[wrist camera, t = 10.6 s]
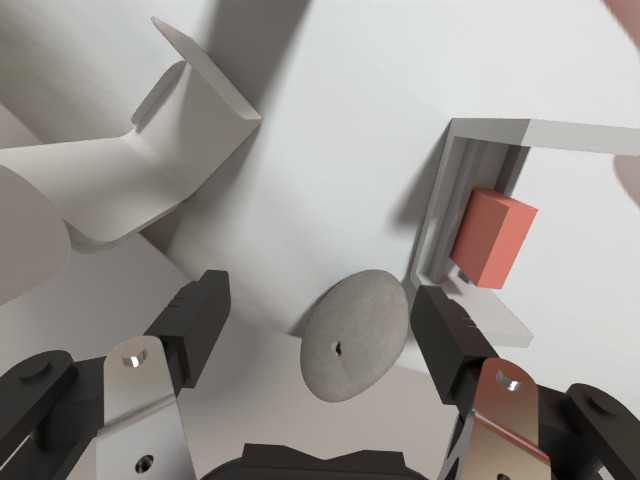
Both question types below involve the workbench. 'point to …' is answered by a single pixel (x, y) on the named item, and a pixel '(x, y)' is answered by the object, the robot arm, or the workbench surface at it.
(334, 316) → the planter
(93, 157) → the wall lamp
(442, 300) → the robot arm
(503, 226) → the red rectangular block
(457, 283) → the u-shaped grey holder
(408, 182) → the workbench surface
